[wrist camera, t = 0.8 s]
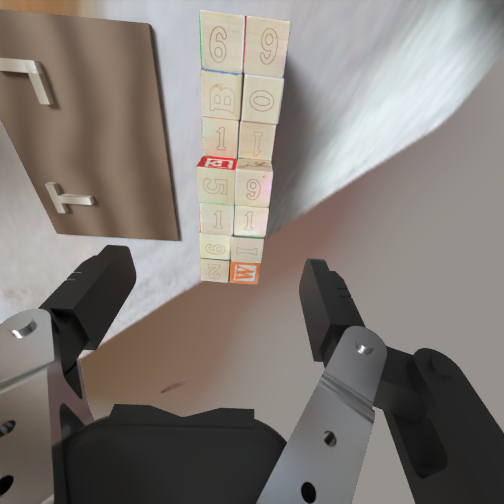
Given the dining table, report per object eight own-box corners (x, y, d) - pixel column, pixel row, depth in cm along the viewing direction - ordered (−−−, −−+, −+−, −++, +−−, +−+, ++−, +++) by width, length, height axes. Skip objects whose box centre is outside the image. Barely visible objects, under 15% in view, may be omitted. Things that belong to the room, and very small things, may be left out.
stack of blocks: (217, 32, 22) (188, -11, 12) (281, 41, 23) (303, 6, 13) (214, 225, 35) (199, 282, 25) (256, 229, 35) (257, 287, 25)
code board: (150, 24, 22) (144, 21, 21) (179, 238, 36) (176, 243, 35) (-49, 6, 21) (-66, 1, 20) (59, 231, 35) (53, 236, 34)
